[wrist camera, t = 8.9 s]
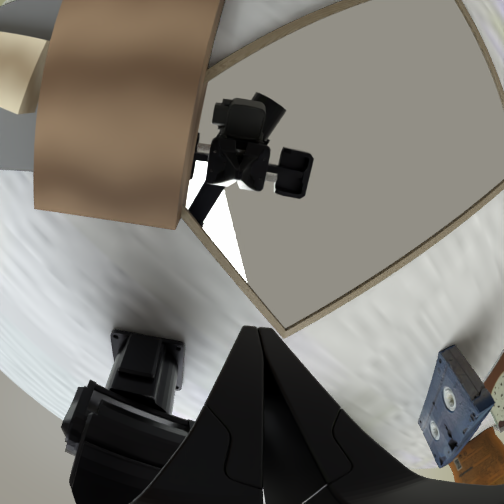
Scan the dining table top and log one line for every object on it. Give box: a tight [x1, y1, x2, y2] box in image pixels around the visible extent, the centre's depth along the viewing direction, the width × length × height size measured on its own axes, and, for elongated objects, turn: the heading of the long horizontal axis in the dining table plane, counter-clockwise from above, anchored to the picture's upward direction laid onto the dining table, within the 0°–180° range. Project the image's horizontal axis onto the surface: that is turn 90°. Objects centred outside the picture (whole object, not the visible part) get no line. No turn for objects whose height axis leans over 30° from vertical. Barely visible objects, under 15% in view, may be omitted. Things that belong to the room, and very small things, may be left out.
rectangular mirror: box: [181, 0, 504, 338], centre depth 17 cm, size 19×1×28 cm
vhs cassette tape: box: [418, 345, 496, 468], centre depth 27 cm, size 18×3×10 cm, turn 14°
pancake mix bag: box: [448, 427, 504, 485], centre depth 37 cm, size 7×19×28 cm, turn 126°
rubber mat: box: [0, 0, 63, 172], centre depth 13 cm, size 14×9×1 cm, turn 168°
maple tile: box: [0, 32, 50, 114], centre depth 11 cm, size 5×9×2 cm, turn 61°
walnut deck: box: [34, 0, 225, 230], centre depth 14 cm, size 16×10×2 cm, turn 168°
